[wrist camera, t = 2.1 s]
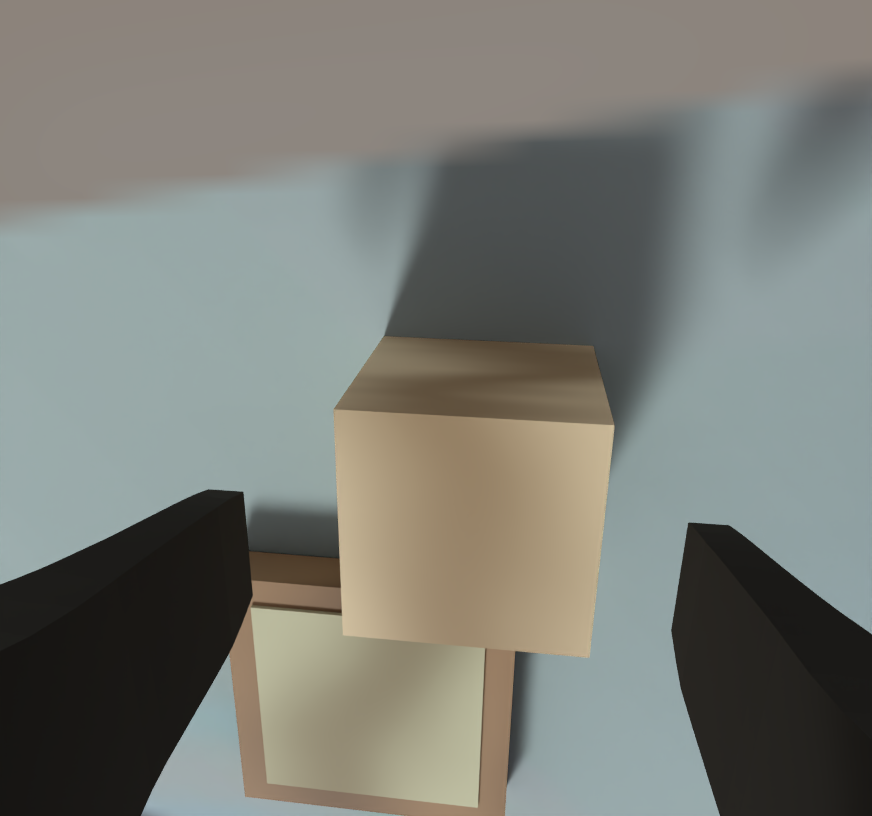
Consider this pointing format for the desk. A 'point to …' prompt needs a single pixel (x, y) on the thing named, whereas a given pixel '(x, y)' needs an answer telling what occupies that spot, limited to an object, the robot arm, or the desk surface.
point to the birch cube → (473, 494)
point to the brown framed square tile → (363, 705)
